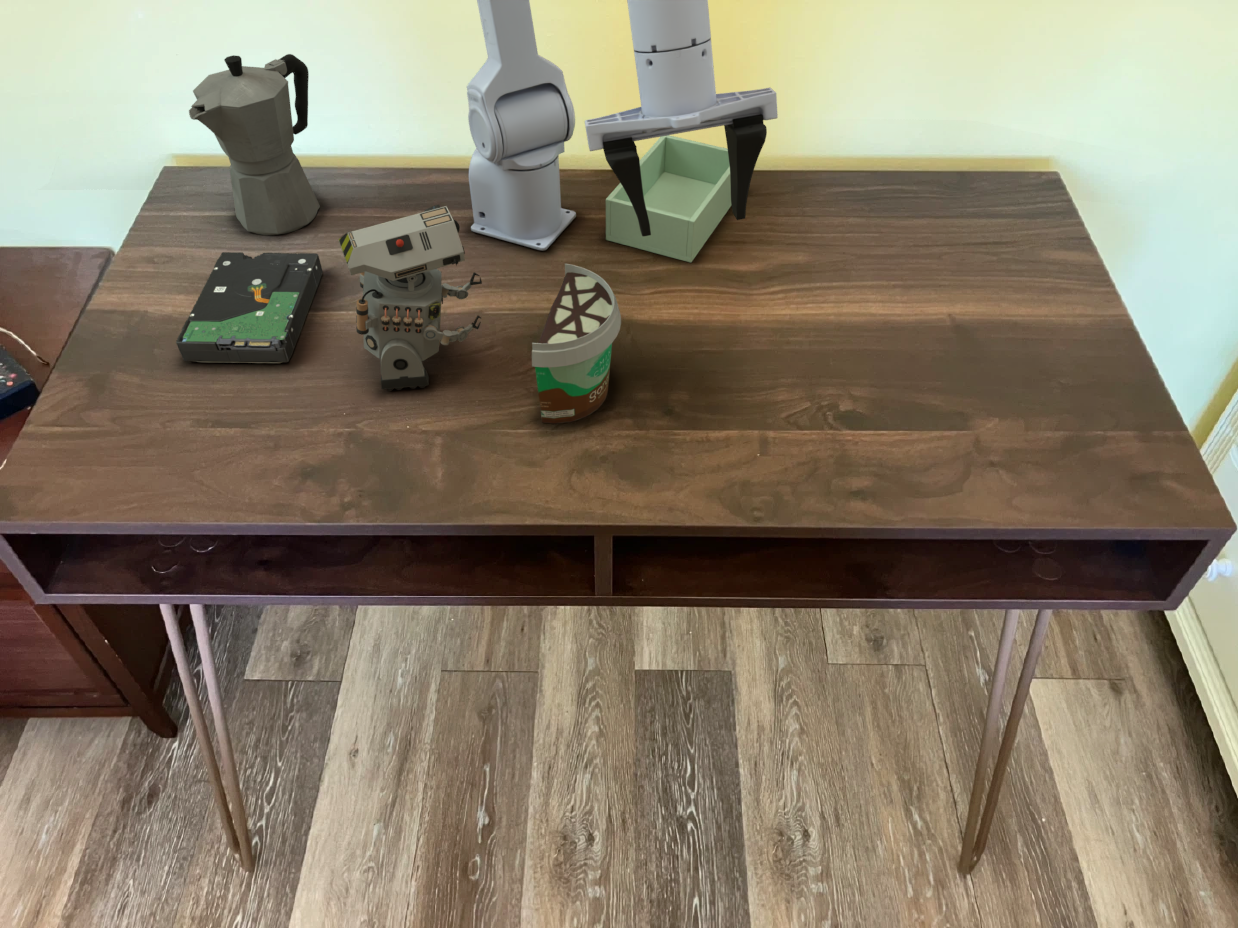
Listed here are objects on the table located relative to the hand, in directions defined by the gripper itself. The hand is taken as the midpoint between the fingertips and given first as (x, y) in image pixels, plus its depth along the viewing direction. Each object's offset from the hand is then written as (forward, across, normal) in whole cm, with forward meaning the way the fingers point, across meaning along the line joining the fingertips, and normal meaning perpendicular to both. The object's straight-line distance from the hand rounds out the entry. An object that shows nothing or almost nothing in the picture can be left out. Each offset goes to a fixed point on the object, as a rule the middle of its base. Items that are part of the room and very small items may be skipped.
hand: (692, 223), depth 76 cm
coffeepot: (+2, -42, +36) cm, 55 cm away
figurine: (+12, -26, +9) cm, 30 cm away
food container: (+15, -11, +3) cm, 19 cm away
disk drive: (+8, -43, +17) cm, 47 cm away
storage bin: (+9, +2, +31) cm, 33 cm away
